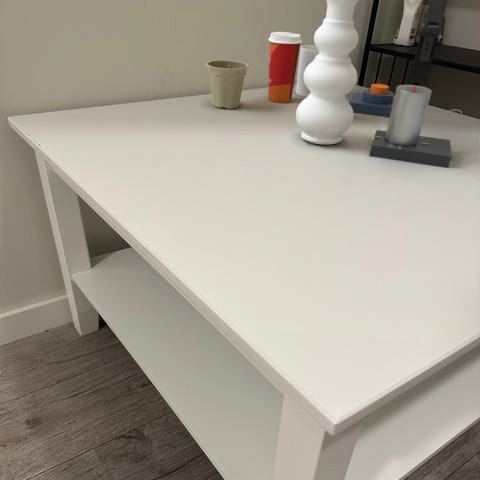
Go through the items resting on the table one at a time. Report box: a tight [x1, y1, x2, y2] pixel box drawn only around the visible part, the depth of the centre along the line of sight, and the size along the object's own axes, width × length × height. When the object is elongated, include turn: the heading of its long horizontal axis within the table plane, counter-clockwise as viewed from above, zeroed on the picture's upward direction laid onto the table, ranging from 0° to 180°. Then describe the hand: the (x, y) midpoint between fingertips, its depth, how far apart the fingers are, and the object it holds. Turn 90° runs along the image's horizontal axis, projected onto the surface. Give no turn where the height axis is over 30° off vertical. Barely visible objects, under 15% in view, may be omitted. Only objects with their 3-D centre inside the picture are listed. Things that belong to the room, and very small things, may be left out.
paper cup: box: [267, 31, 303, 104], centre depth 113 cm, size 8×8×14 cm
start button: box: [370, 83, 390, 95], centre depth 111 cm, size 4×4×2 cm
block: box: [348, 88, 395, 119], centre depth 113 cm, size 12×10×4 cm
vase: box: [295, 0, 360, 146], centre depth 87 cm, size 11×11×25 cm
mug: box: [295, 44, 319, 98], centre depth 120 cm, size 12×8×10 cm, turn 86°
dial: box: [385, 84, 433, 146], centre depth 87 cm, size 6×6×9 cm
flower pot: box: [205, 59, 250, 110], centre depth 108 cm, size 9×9×9 cm
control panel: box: [369, 129, 453, 168], centre depth 90 cm, size 14×10×2 cm
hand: (419, 75), depth 83 cm, fingers open, 13 cm apart
